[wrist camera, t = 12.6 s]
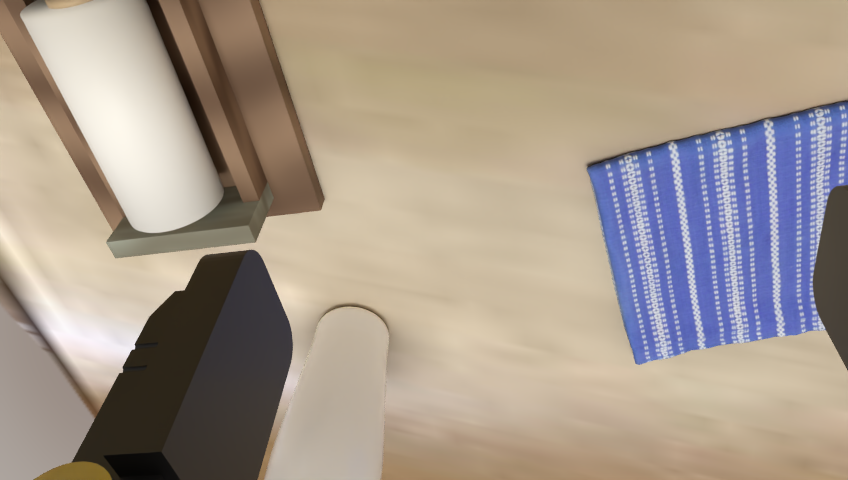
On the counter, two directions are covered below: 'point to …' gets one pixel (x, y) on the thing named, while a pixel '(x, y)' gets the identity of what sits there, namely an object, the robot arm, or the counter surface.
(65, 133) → the cradle
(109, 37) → the roll
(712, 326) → the dish towel
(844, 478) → the counter surface
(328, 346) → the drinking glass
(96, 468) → the robot arm
